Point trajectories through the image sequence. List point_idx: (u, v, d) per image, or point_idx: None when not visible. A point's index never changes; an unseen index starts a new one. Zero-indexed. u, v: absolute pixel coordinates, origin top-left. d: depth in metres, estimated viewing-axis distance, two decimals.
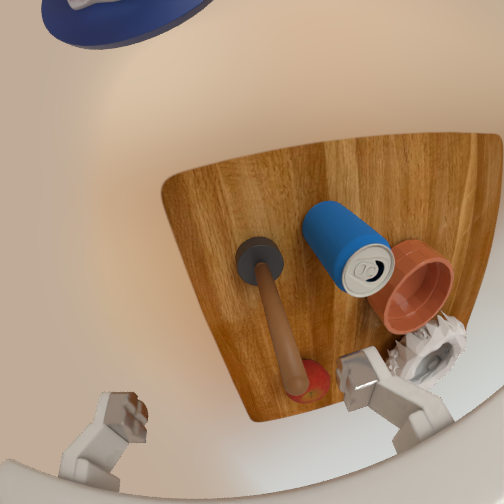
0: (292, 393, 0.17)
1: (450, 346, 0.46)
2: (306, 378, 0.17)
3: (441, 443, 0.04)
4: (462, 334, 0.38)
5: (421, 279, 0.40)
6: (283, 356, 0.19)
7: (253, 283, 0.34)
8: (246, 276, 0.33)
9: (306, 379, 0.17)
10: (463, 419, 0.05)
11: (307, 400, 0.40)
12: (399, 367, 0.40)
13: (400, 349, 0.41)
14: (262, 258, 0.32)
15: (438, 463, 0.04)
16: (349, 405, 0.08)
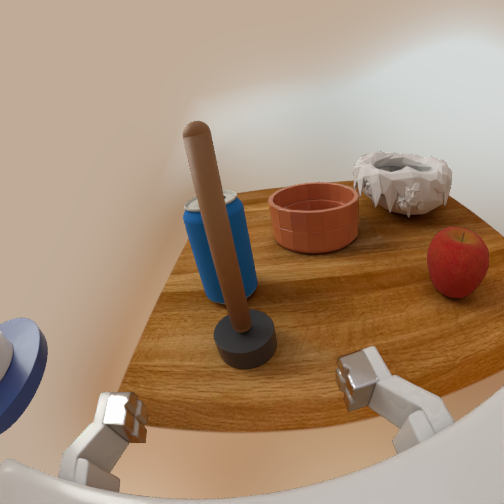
0: (192, 124, 0.15)
1: (394, 171, 0.52)
2: None
3: (441, 443, 0.04)
4: (360, 158, 0.48)
5: None
6: (190, 170, 0.17)
7: (266, 338, 0.23)
8: (252, 344, 0.22)
9: None
10: (463, 419, 0.05)
11: (475, 239, 0.21)
12: (405, 185, 0.36)
13: (391, 198, 0.39)
14: (233, 327, 0.25)
15: (437, 463, 0.04)
16: (349, 405, 0.08)
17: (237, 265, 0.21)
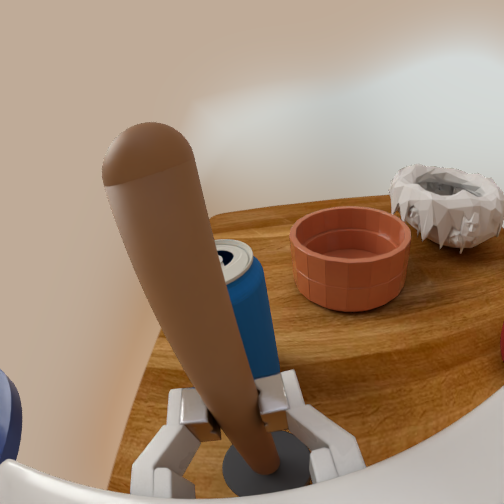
0: (126, 135, 0.04)
1: (432, 187, 0.40)
2: None
3: (441, 443, 0.04)
4: (398, 173, 0.37)
5: (354, 252, 0.35)
6: None
7: (302, 481, 0.11)
8: (281, 490, 0.11)
9: None
10: (463, 419, 0.05)
11: None
12: (463, 215, 0.25)
13: (444, 231, 0.27)
14: None
15: (438, 463, 0.04)
16: (265, 427, 0.08)
17: None
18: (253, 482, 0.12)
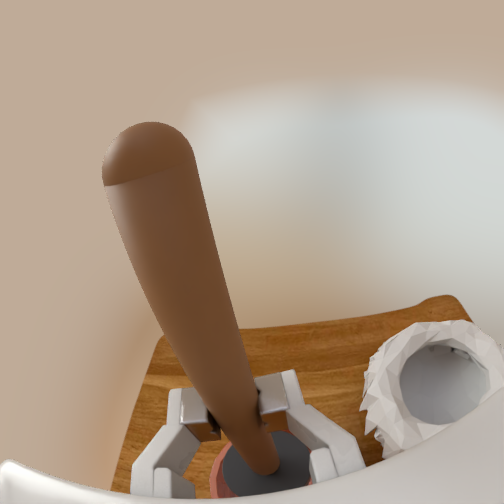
0: (126, 134, 0.04)
1: None
2: None
3: (441, 443, 0.04)
4: (383, 352, 0.27)
5: None
6: None
7: (302, 481, 0.11)
8: None
9: None
10: (463, 419, 0.05)
11: None
12: None
13: None
14: None
15: (438, 463, 0.04)
16: (265, 427, 0.08)
17: None
18: (253, 482, 0.12)
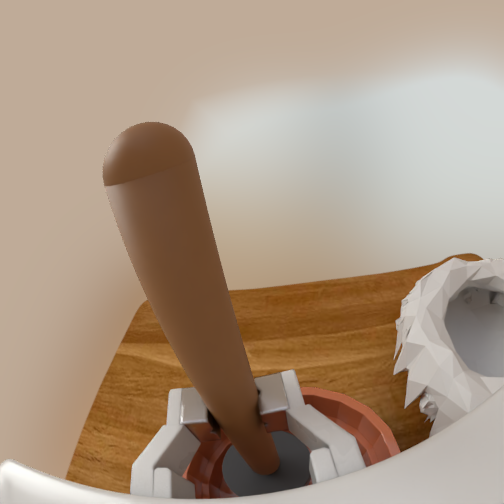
0: (127, 134, 0.04)
1: None
2: None
3: (441, 443, 0.04)
4: (419, 291, 0.20)
5: None
6: None
7: (302, 481, 0.11)
8: (281, 490, 0.11)
9: None
10: (463, 419, 0.05)
11: None
12: None
13: None
14: None
15: (437, 463, 0.04)
16: (265, 427, 0.08)
17: None
18: (253, 482, 0.12)
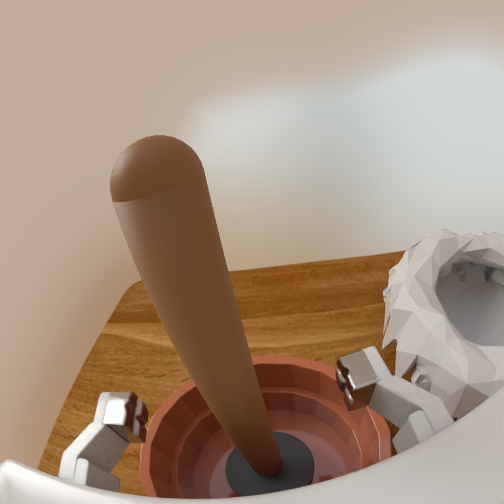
0: (135, 149, 0.04)
1: (459, 262, 0.23)
2: None
3: (441, 443, 0.04)
4: (406, 259, 0.19)
5: (294, 420, 0.18)
6: (151, 296, 0.06)
7: (304, 482, 0.11)
8: None
9: None
10: (463, 419, 0.05)
11: None
12: None
13: None
14: None
15: (437, 463, 0.04)
16: (349, 405, 0.08)
17: (270, 432, 0.09)
18: (256, 484, 0.12)
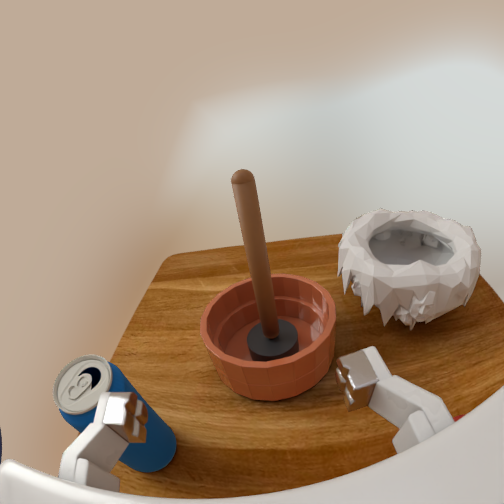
0: (240, 172, 0.20)
1: (399, 232, 0.39)
2: None
3: (441, 443, 0.04)
4: (351, 225, 0.35)
5: None
6: (237, 210, 0.21)
7: (292, 343, 0.27)
8: (281, 348, 0.27)
9: None
10: (463, 419, 0.05)
11: None
12: (413, 294, 0.23)
13: (388, 310, 0.26)
14: (263, 334, 0.29)
15: (438, 463, 0.04)
16: (349, 405, 0.08)
17: (271, 285, 0.25)
18: (264, 345, 0.28)
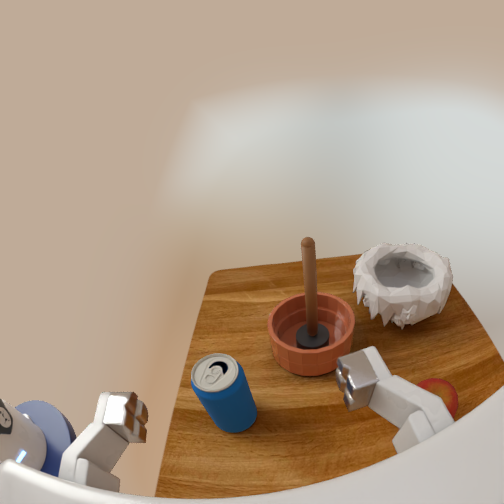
0: (307, 240, 0.34)
1: (396, 258, 0.53)
2: None
3: (441, 443, 0.04)
4: (362, 256, 0.50)
5: None
6: (303, 261, 0.36)
7: (326, 338, 0.42)
8: (319, 342, 0.41)
9: None
10: (463, 419, 0.05)
11: (448, 397, 0.22)
12: (403, 307, 0.38)
13: (387, 316, 0.40)
14: (306, 333, 0.43)
15: (438, 463, 0.04)
16: (349, 405, 0.08)
17: None
18: (308, 340, 0.42)
